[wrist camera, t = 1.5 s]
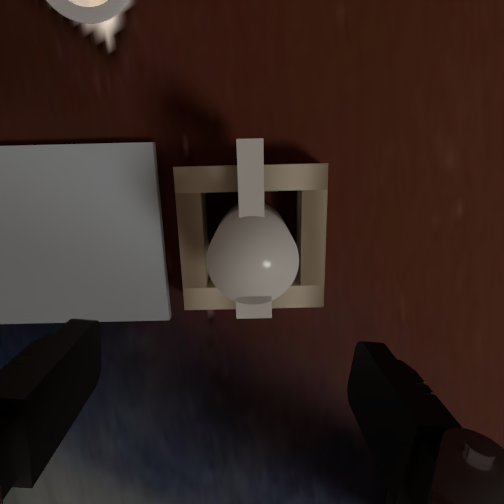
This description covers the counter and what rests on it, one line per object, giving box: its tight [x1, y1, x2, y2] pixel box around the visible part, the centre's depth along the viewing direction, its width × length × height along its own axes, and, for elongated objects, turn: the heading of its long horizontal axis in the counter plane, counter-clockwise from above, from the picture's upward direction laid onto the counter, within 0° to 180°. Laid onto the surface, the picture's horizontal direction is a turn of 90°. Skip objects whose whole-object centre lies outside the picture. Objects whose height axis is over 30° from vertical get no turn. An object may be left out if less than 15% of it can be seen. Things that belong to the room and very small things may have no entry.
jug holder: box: [173, 163, 328, 310], centre depth 29 cm, size 12×12×3 cm
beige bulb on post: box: [207, 138, 299, 319], centre depth 26 cm, size 12×6×9 cm, turn 1°
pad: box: [0, 142, 171, 324], centre depth 30 cm, size 16×16×1 cm
